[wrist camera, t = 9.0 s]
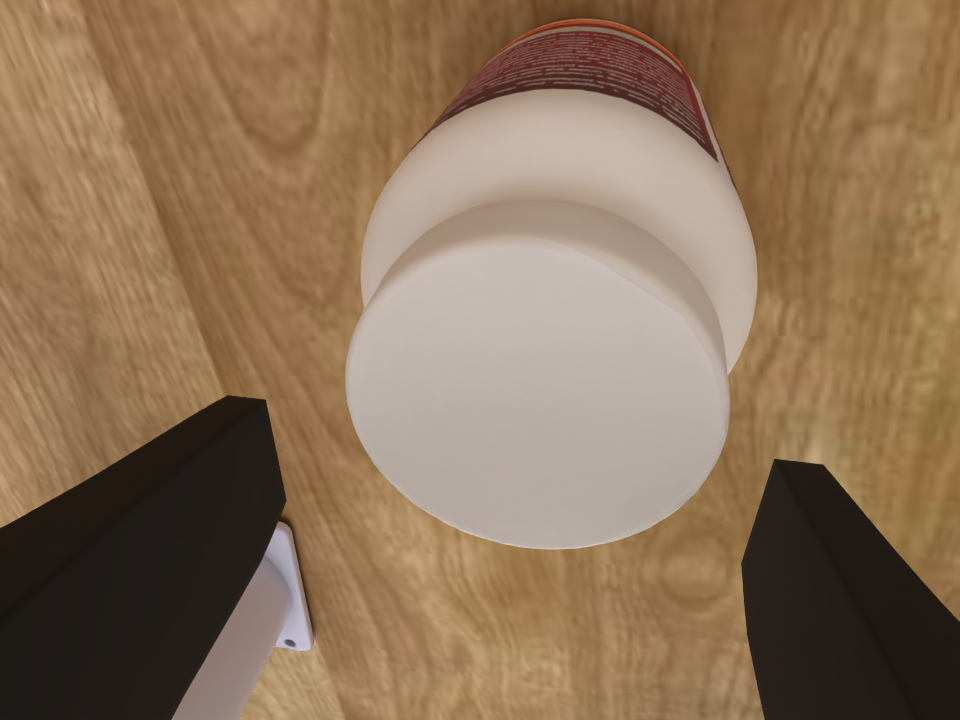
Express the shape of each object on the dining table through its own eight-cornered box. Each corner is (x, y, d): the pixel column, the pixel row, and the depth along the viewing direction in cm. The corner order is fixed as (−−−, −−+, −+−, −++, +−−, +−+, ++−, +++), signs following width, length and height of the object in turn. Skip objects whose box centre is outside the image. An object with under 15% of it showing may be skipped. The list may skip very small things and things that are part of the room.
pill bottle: (410, 130, 18) (181, 356, 9) (608, -51, 15) (575, 5, 6) (556, 303, 20) (495, 636, 11) (756, 173, 17) (907, 480, 8)
